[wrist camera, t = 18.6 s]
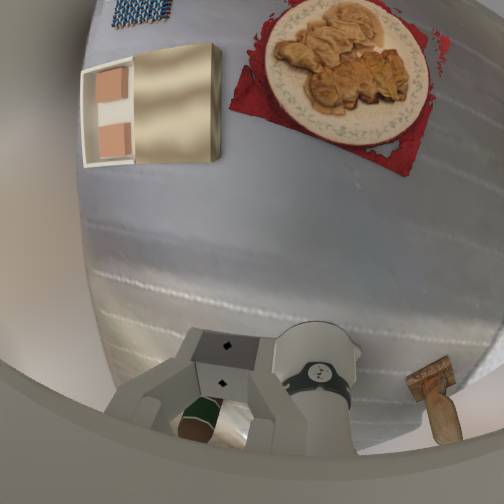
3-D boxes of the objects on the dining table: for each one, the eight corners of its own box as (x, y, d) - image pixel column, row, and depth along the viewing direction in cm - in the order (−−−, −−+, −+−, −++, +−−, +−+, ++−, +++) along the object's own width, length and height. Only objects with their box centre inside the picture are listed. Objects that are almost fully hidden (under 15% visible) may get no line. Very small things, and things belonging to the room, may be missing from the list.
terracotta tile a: (100, 157, 39) (107, 155, 41) (125, 155, 39) (131, 153, 41) (98, 126, 37) (105, 125, 39) (123, 123, 37) (130, 122, 38)
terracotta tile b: (96, 103, 35) (103, 102, 37) (121, 98, 35) (128, 98, 37) (96, 73, 33) (103, 74, 35) (121, 67, 33) (128, 68, 34)
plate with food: (402, 176, 37) (411, 181, 34) (230, 109, 37) (224, 108, 33) (446, 41, 26) (457, 37, 23) (282, -29, 26) (281, -40, 23)
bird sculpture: (456, 375, 52) (490, 485, 23) (416, 398, 56) (437, 509, 28) (446, 353, 49) (489, 478, 21) (402, 378, 53) (425, 506, 25)
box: (152, 158, 41) (137, 163, 37) (100, 162, 42) (83, 167, 38) (151, 60, 34) (136, 55, 30) (97, 72, 35) (80, 71, 31)
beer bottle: (194, 395, 65) (164, 475, 44) (192, 377, 62) (157, 464, 40) (224, 401, 64) (200, 485, 43) (224, 383, 61) (197, 475, 40)
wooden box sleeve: (220, 157, 40) (210, 162, 35) (152, 158, 41) (135, 164, 37) (221, 50, 33) (211, 42, 28) (151, 60, 34) (134, 55, 30)
